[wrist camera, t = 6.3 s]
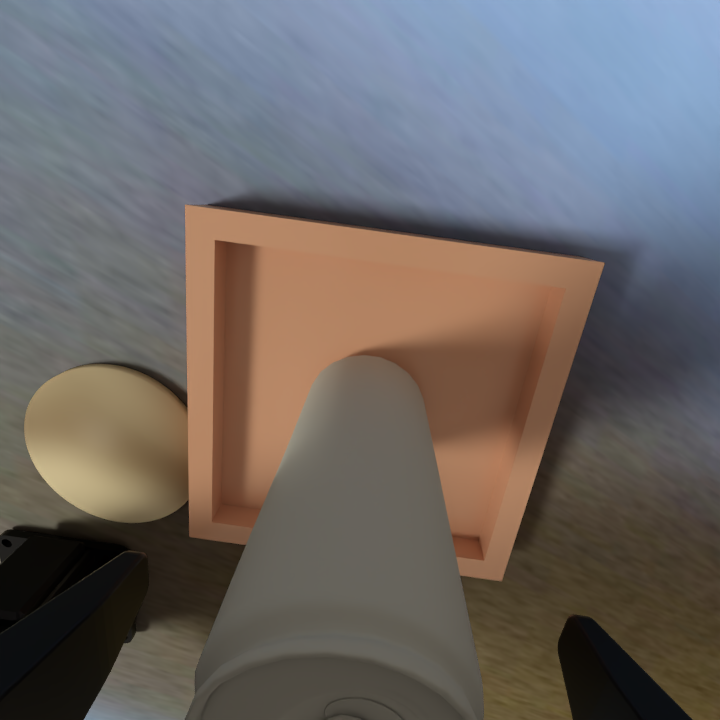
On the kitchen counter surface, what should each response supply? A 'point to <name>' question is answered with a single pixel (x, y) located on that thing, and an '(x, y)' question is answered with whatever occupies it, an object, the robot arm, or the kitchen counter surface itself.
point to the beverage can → (347, 572)
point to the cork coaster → (111, 442)
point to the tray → (380, 339)
